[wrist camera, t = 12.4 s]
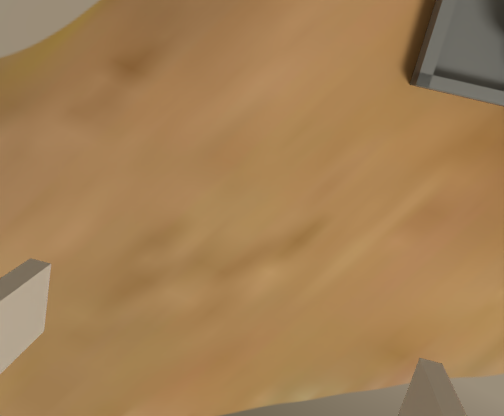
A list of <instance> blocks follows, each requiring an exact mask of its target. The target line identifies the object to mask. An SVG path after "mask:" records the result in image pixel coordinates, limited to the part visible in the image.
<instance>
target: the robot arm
mask: <svg viewBox="0 0 504 416" xmlns="http://www.w3.org/2000/svg"><path fill="white" fill-rule="evenodd" d="M50 269H51V264H50V263H46V262H43V261H39V260H35V259H31V258H30V259H29V260H27V261H26V262H24V263H23V264H21V265H20V266H18V267H17V268H15V269H14V270H12V271H11V272H9V273H8V274H6V275H5V276H3V277H2V278H0V374H1V373H2V372H3V371H4V370H5V369H6V368H7V367H8V366H9V365H10V364H11V363H12V362H13V361H14V360H15V359H16V358H17V357H18V356H19V355H20V354H21V353H22V352H23V351H24V350H25V349H26V348H27V347H28V346H29V345H30V344H31V343H32V342H33V341H34V340H35V339H36V338H37V337H39V336H40V335H41V334H42V333H43V332H44V326H45V317H46V307H47V298H48V288H49V279H50ZM398 416H467V415H466V413H465V411H464V409H463V406H462V404H461V402H460V400H459V398H458V396H457V394H456V392H455V390H454V388H453V386H452V384H451V381H450V379H449V377H448V375H447V373H446V371H445V369H444V367H443V365H442V363H438V362H434V361H430V360H426V359H422V358H419V361H418V364H417V366H416V369H415V372H414V374H413V377H412V380H411V382H410V385H409V388H408V390H407V393H406V395H405V398H404V401H403V403H402V406H401V409H400V411H399V414H398Z"/></svg>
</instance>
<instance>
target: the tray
mask: <svg viewBox="0 0 504 416" xmlns="http://www.w3.org/2000/svg"><path fill="white" fill-rule="evenodd" d="M410 85H413V86H417V87H422V88H426V89H430V90H435V91H439V92H443V93H448V94H452V95H456V96H461V97H465V98H469V99H473V100H478V101H482V102H486V103H491V104H495V105H499V106H504V0H436V2H435V5H434V8H433V12H432V15H431V18H430V21H429V24H428V28H427V31H426V34H425V37H424V41H423V44H422V47H421V50H420V53H419V57H418V60H417V63H416V66H415V70H414V73H413V76H412V79H411V82H410Z"/></svg>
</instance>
